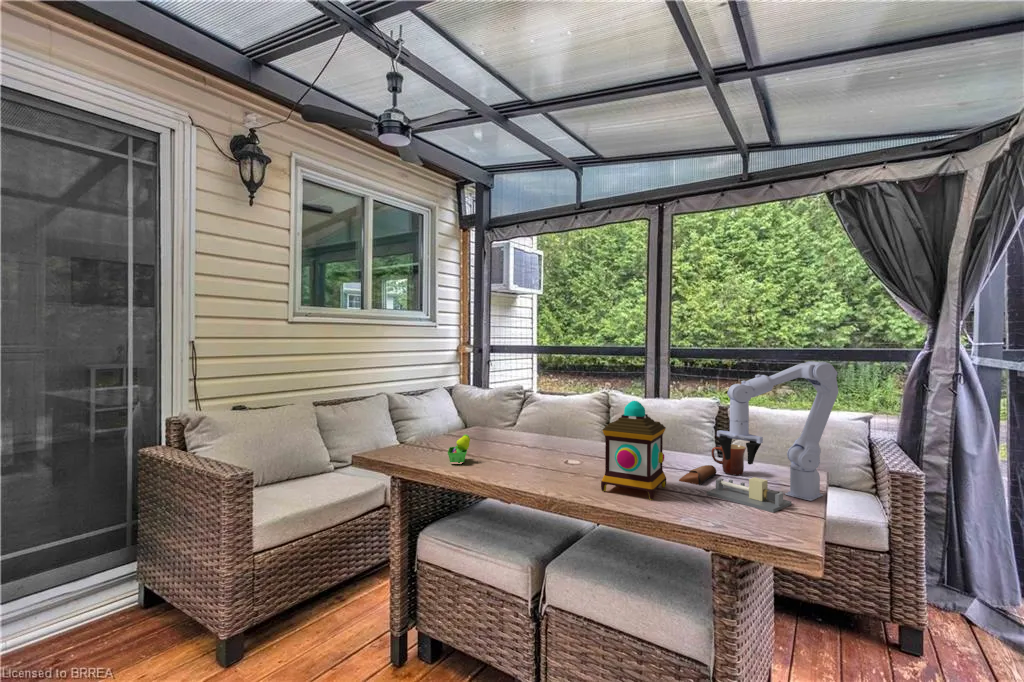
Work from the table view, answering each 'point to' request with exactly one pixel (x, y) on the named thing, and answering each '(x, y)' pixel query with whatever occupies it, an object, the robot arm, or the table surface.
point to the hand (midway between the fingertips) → (738, 461)
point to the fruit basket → (459, 450)
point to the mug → (732, 460)
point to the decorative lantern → (634, 451)
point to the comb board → (742, 496)
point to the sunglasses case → (699, 475)
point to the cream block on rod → (757, 488)
